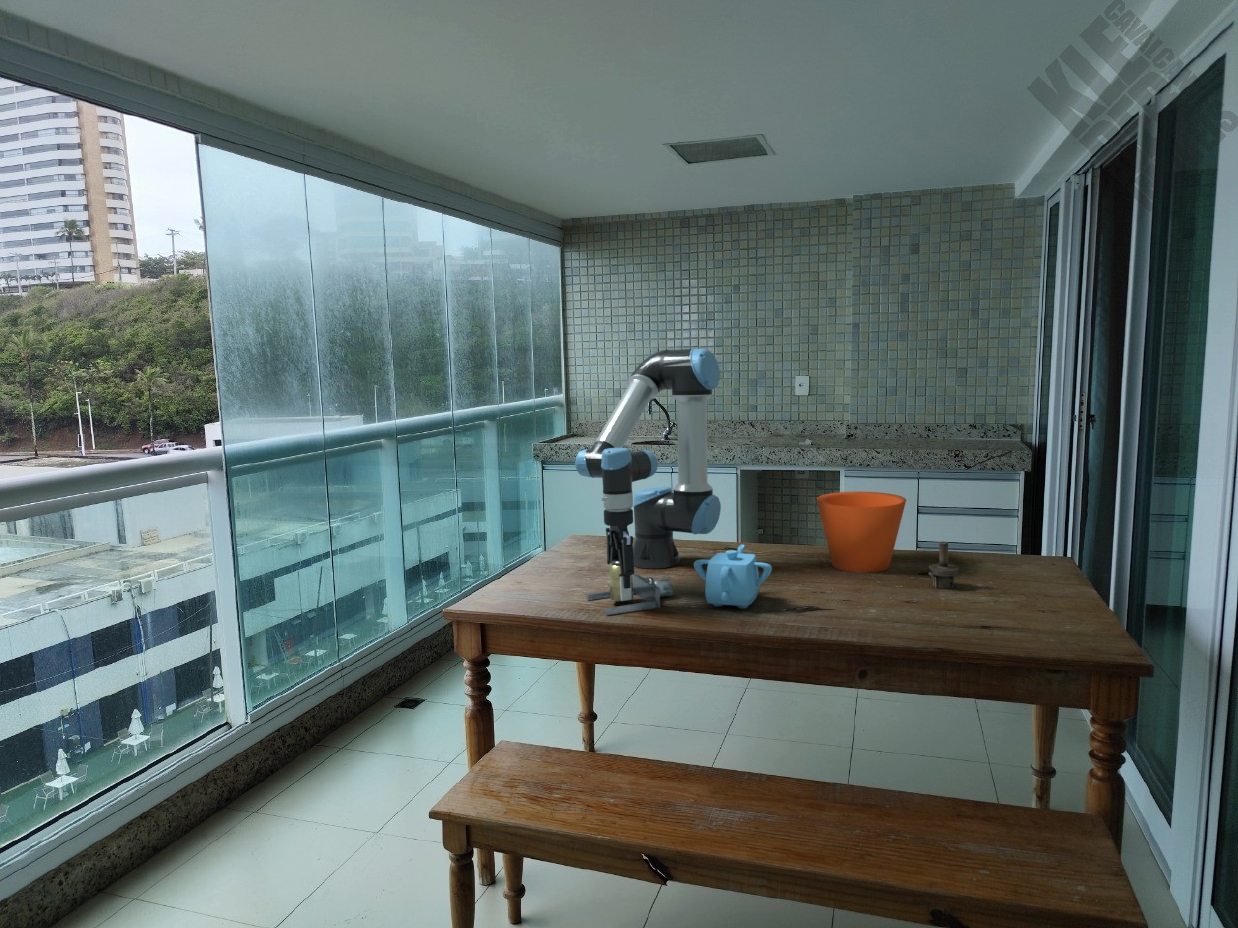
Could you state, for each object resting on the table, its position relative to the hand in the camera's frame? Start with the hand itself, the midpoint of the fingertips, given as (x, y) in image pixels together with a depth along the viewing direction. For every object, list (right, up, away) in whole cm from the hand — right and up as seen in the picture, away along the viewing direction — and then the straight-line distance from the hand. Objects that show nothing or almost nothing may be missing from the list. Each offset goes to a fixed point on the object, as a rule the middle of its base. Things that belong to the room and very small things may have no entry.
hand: (621, 596), depth 213 cm
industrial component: (+84, +2, +5) cm, 85 cm away
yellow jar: (0, 0, 0) cm, 0 cm away
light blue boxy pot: (+29, -1, -1) cm, 29 cm away
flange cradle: (+3, -2, +1) cm, 4 cm away
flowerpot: (+70, +4, +29) cm, 76 cm away
